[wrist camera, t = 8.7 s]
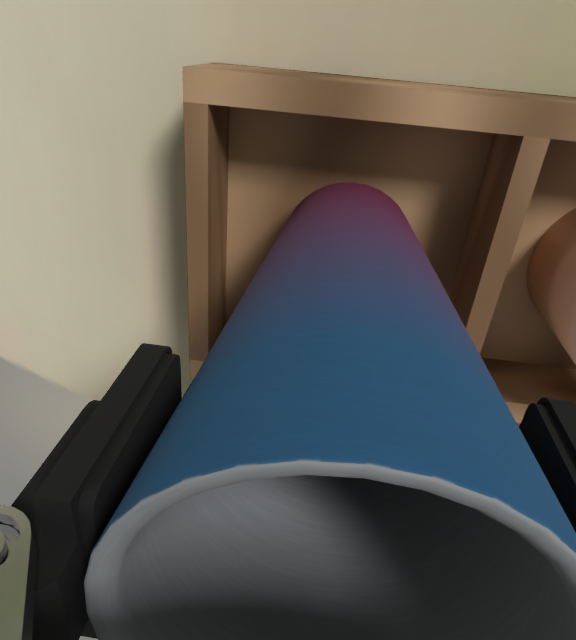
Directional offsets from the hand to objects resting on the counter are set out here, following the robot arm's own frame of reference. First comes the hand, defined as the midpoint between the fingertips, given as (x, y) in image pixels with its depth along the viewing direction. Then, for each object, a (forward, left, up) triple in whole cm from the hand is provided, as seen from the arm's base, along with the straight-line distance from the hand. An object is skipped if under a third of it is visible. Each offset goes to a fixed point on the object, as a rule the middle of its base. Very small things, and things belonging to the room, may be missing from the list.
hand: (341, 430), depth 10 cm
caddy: (-5, 0, -13) cm, 14 cm away
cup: (0, 0, -11) cm, 11 cm away
